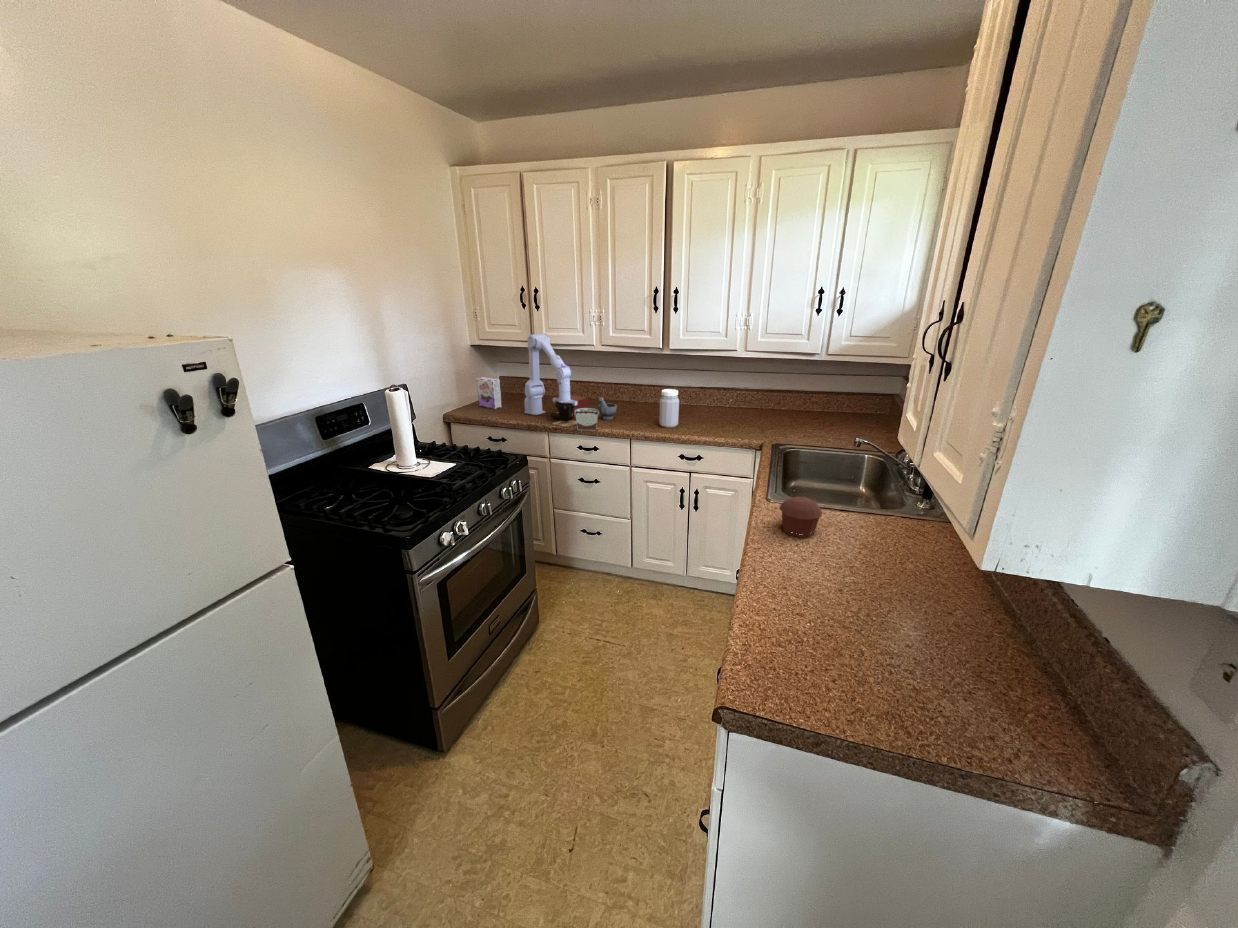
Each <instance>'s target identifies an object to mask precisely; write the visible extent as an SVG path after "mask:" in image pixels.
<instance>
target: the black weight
mask: <svg viewBox="0 0 1238 928" xmlns="http://www.w3.org/2000/svg"><path fill="white" fill-rule="evenodd" d="M559 414H560V419H559V421H565V422H567V421H570V420H573V418H572V416H571V418H568V417H567V410H566V407H565V406H562V407H559Z"/></svg>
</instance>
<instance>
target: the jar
mask: <svg viewBox="0 0 1238 928" xmlns="http://www.w3.org/2000/svg"><path fill="white" fill-rule="evenodd" d="M678 395H679V390H678V389H674V388H664V389H662V390H661V397H660V399H659V420H658V421H659V422H658V424H659V425H660V427H662V428H666V429H671V428H676V427H677V426H678V425H679V414H680V412H679V411H680V399H679V396H678Z"/></svg>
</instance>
